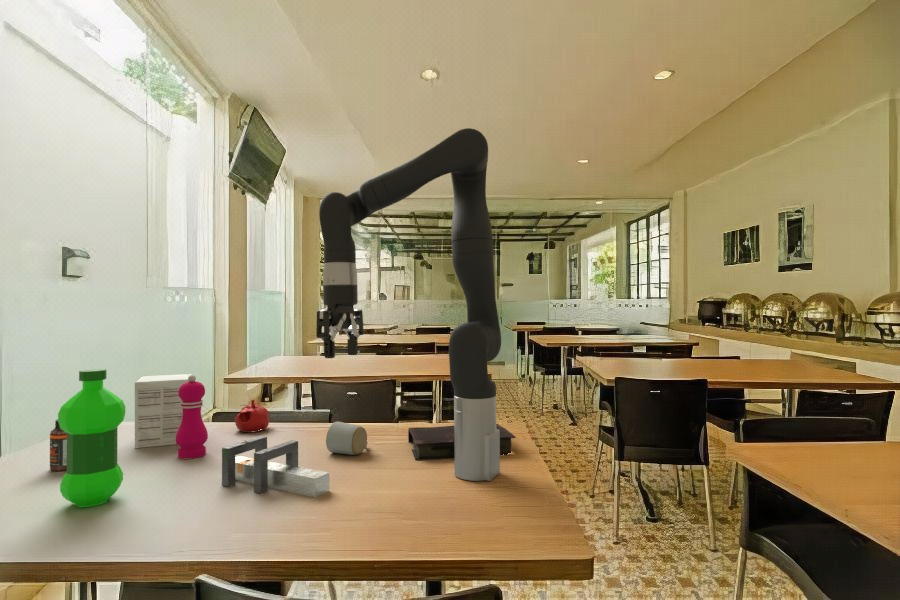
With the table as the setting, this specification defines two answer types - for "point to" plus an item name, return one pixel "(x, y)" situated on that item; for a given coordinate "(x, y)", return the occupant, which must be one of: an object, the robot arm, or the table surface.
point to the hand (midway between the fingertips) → (341, 356)
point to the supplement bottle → (58, 449)
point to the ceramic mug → (346, 438)
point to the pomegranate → (252, 418)
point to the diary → (445, 442)
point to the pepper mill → (191, 421)
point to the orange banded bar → (285, 477)
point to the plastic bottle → (91, 441)
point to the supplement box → (158, 409)
